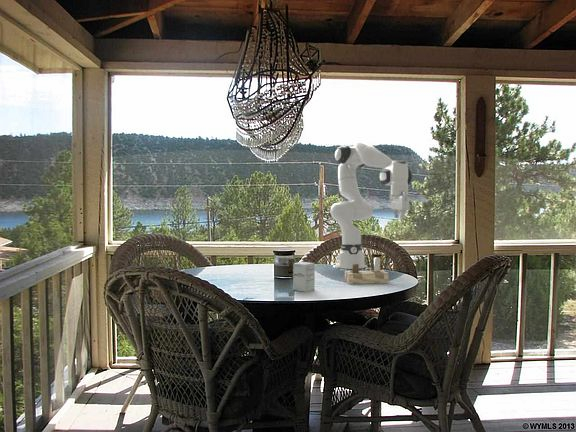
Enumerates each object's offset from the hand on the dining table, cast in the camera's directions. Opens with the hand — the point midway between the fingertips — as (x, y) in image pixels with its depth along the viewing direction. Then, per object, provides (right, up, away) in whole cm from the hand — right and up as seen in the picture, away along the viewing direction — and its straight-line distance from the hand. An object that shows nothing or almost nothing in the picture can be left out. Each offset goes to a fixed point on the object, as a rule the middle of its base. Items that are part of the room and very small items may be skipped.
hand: (399, 218), depth 284 cm
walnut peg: (-24, -32, -11) cm, 41 cm away
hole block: (-19, -32, -11) cm, 38 cm away
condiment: (-12, -31, +6) cm, 34 cm away
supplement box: (-50, -33, -32) cm, 68 cm away
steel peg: (-13, -32, -10) cm, 36 cm away
